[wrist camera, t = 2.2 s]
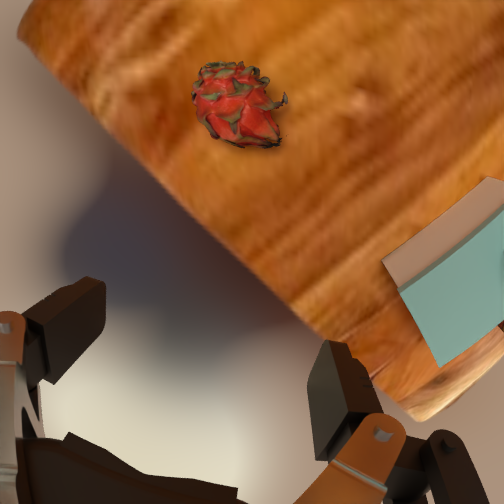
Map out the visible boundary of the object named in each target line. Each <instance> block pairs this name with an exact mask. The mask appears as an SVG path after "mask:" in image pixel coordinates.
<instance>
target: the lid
mask: <svg viewBox="0 0 504 504" xmlns="http://www.w3.org/2000/svg"><path fill="white" fill-rule="evenodd" d="M397 290H398V292H399V294H400V296H401V297H402V299H403V301H404V302H405V304H406V306H407V308H408V309H409V311H410V313H411V315H412V316H413V318H414V320H415V322H416V324H417V325H418V327H419V329H420V331H421V333H422V335H423V337H424V339H425V340H426V342H427V344H428V346H429V348H430V350H431V352H432V354H433V356H434V358H435V360H436V362H437V364H438V366H439V368H440V367H442V366H443V365H445V364H446V363H448V362H449V361H451V360H452V359H454V358H455V357H456V356H458V355H459V354H461V353H462V352H463V351H465V350H466V349H468V348H469V347H470V346H472V345H473V344H474V343H476V342H477V341H478V340H480V339H481V338H482V337H483V336H485V335H486V334H487V333H488V332H490V331H491V330H492V329H493V328H495V327H496V326H497V325H498V324H499V323H501V322H502V321H503V320H504V204H502V205H501V206H500V207H499V208H498V209H497V210H496V211H495V212H494V213H493V214H492V215H490V216H489V217H488V218H487V219H486V220H485V221H484V222H482V223H481V224H480V225H479V226H478V227H477V228H476V229H474V230H473V231H472V232H471V233H470V234H468V235H467V236H466V237H465V238H464V239H462V240H461V241H460V242H459V243H457V244H456V245H455V246H454V247H452V248H451V249H450V250H449V251H447V252H446V253H445V254H444V255H442V256H441V257H440V258H438V259H437V260H436V261H435V262H433V263H432V264H431V265H429V266H428V267H427V268H425V269H424V270H422V271H421V272H420V273H418V274H417V275H416V276H414V277H413V278H411V279H410V280H409V281H407V282H406V283H404V284H403V285H402V286H400V287H399V288H397Z"/></svg>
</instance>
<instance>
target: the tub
mask: <svg viewBox="0 0 504 504" xmlns="http://www.w3.org/2000/svg"><path fill="white" fill-rule="evenodd" d="M502 204H504V181H501V180H498V179H495V178H492V177H488V176H487V177H486V178H485V179H484V180H483V181H482V182H480V183H479V184H478V185H477V186H476V187H475V188H473V189H472V190H471V191H470V192H469V193H467V194H466V195H465V196H464V197H463V198H461V199H460V200H459V201H458V202H457V203H455V204H454V205H453V206H452V207H450V208H449V209H448V210H447V211H445V212H444V213H443V214H442V215H440V216H439V217H438V218H437V219H435V220H434V221H433V222H432V223H430V224H429V225H428V226H426V227H425V228H424V229H422V230H421V231H420V232H418V233H417V234H416V235H414V236H413V237H412V238H410V239H409V240H408V241H406V242H405V243H404V244H402V245H401V246H400V247H398V248H397V249H396V250H394V251H393V252H391V253H390V254H389V255H387V256H386V257H384V258H383V259H382V260H381V261H382V262H383V264H384V265H385V267H386V269H387V270H388V272H389V274H390V275H391V277H392V278H393V280H394V282H395V283H396V285H397V287H398V288H399V287H400V286H402V285H403V284H404V283H406V282H407V281H409V280H410V279H411V278H413V277H414V276H416V275H417V274H418V273H420V272H421V271H422V270H424V269H425V268H427V267H428V266H429V265H431V264H432V263H433V262H435V261H436V260H437V259H438V258H440V257H441V256H442V255H444V254H445V253H446V252H447V251H449V250H450V249H451V248H452V247H454V246H455V245H456V244H457V243H459V242H460V241H461V240H462V239H464V238H465V237H466V236H467V235H468V234H470V233H471V232H472V231H473V230H474V229H476V228H477V227H478V226H479V225H480V224H481V223H482V222H484V221H485V220H486V219H487V218H488V217H489V216H490V215H492V214H493V213H494V212H495V211H496V210H497V209H498V208H499V207H500V206H501V205H502Z"/></svg>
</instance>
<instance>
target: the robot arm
mask: <svg viewBox="0 0 504 504" xmlns="http://www.w3.org/2000/svg"><path fill="white" fill-rule="evenodd" d="M105 321H106V285H105V283H104V282H103V281H100V280H97V279H94V278H91V277H88V276H86V277H84V278H82V279H81V280H79V281H77V282H76V283H74V284H73V285H68V286H65V287H61V288H59V289H58V290H56V291H55V292H53V293H52V294H51V295H49V296H47V297H46V298H45V299H44V300H41V301H39V302H38V303H37V304H35V305H34V306H32V307H31V308H29V309H28V310H26V311H25V312H24V313H22V314H19V313H17V312H13V311H2V312H0V504H248V503H246V502H244V501H241V500H239V499H237V491H238V488H236V487H230V486H224V485H219V484H214V483H210V482H205V481H201V480H197V479H190V478H175V477H164V476H154V475H147V474H144V473H142V472H140V471H138V470H136V469H135V468H133V467H131V466H130V465H128V464H127V463H125V462H124V461H122V460H121V459H119V458H118V457H116V456H115V455H113V454H112V453H110V452H109V451H107V450H106V449H104V448H102V447H100V446H97V445H95V444H93V443H91V442H89V441H87V440H84V439H83V438H80V437H78V436H76V435H74V434H73V433H71V432H68V434H67V435H66V437H65V438H64V440H63V441H62V440H57V439H52V438H45V434H44V428H43V420H42V409H41V396H40V386H39V382H40V381H41V380H42V379H44V380H46V381H48V382H50V383H52V384H53V385H54V384H55V383H56V382H57V381H58V380H59V379H60V378H61V377H62V376H63V374H64V373H65V372H66V371H67V370H68V369H69V368H70V367H71V366H72V365H73V364H74V362H75V361H76V360H77V359H78V358H79V357H80V356H81V355H82V354H83V353H84V351H85V350H86V349H87V348H88V347H89V346H90V345H91V344H92V343H93V342H94V341H95V340H96V339H97V338H98V336H99V335H100V334H101V333H102V331H103V329H104V326H105ZM369 379H370V377H369V375H368V372H367V370H366V368H365V367H364V366H363V365H362V364H361V362H360V361H359V360H358V359H355V358H352V355H351V353H350V350H349V348H348V345H347V344H346V343H342V342H336V341H331V340H325V341H324V343H323V344H322V347H321V349H320V351H319V354H318V356H317V359H316V361H315V363H314V366H313V368H312V370H311V373H310V375H309V378H308V383H307V393H308V400H309V408H310V417H311V425H312V433H313V442H314V452H315V460H317V461H328V466H327V467H326V469H325V470H324V471H323V472H322V473H321V474H320V475H319V477H318V478H317V479H316V480H315V481H314V482H313V483H312V484H311V486H310V487H309V488H308V489H307V490H306V491H305V492H304V493H303V494H302V495H301V496H300V497H299V498H298V499H297V500H296V502H294V503H293V504H380V503H381V502H382V500H383V504H428V501H427V498H426V493H427V492H428V491H429V490H431V491H432V495H433V498H434V502H435V504H489V501H488V498H487V496H486V493H485V491H484V488H483V486H482V483H481V481H480V478H479V476H478V474H477V471H476V469H475V467H474V464H473V462H472V461H471V458H470V456H469V453H468V451H467V449H466V447H465V445H464V443H463V441H462V440H461V439H460V438H459V437H458V436H457V435H456V434H454V433H453V432H451V431H448V430H443V429H440V430H436V431H434V432H433V433H432V434H431V435H430V437H429V438H428V439H427V440H423V439H419V438H415V437H410V436H407V435H406V432H405V429H404V427H403V426H402V424H401V423H400V422H399V421H397V420H396V419H395V418H393V417H391V416H389V415H386V414H384V412H383V410H382V407H381V405H380V402H379V400H378V397H377V395H376V392H375V390H374V388H373V385H372V382H371V380H369Z"/></svg>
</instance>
